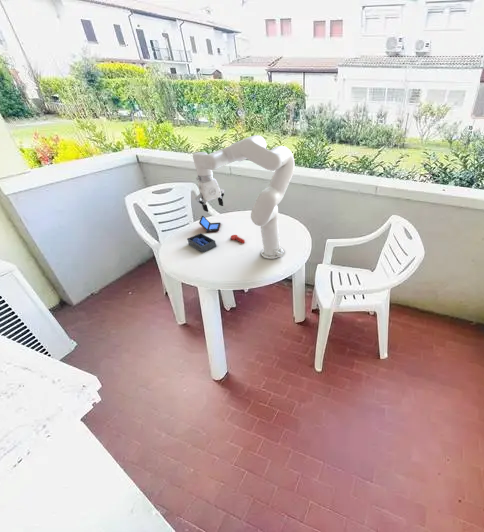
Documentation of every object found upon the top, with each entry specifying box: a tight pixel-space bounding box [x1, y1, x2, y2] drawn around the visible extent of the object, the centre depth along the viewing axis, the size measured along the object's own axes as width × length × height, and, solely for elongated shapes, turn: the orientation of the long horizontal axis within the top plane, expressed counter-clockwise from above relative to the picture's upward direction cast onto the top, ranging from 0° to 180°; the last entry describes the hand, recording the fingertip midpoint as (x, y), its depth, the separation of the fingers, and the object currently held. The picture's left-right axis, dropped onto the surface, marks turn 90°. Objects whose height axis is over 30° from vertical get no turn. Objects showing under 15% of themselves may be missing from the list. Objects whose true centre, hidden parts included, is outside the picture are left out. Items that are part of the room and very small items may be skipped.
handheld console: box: [198, 215, 221, 234], centre depth 187 cm, size 12×11×7 cm
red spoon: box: [230, 234, 246, 244], centre depth 175 cm, size 12×4×2 cm, turn 51°
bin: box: [186, 232, 217, 254], centre depth 169 cm, size 15×9×4 cm, turn 52°
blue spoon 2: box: [199, 238, 209, 244], centre depth 170 cm, size 12×4×2 cm, turn 50°
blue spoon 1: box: [192, 238, 204, 246], centre depth 168 cm, size 12×4×2 cm
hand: (213, 208), depth 157 cm, fingers open, 9 cm apart
